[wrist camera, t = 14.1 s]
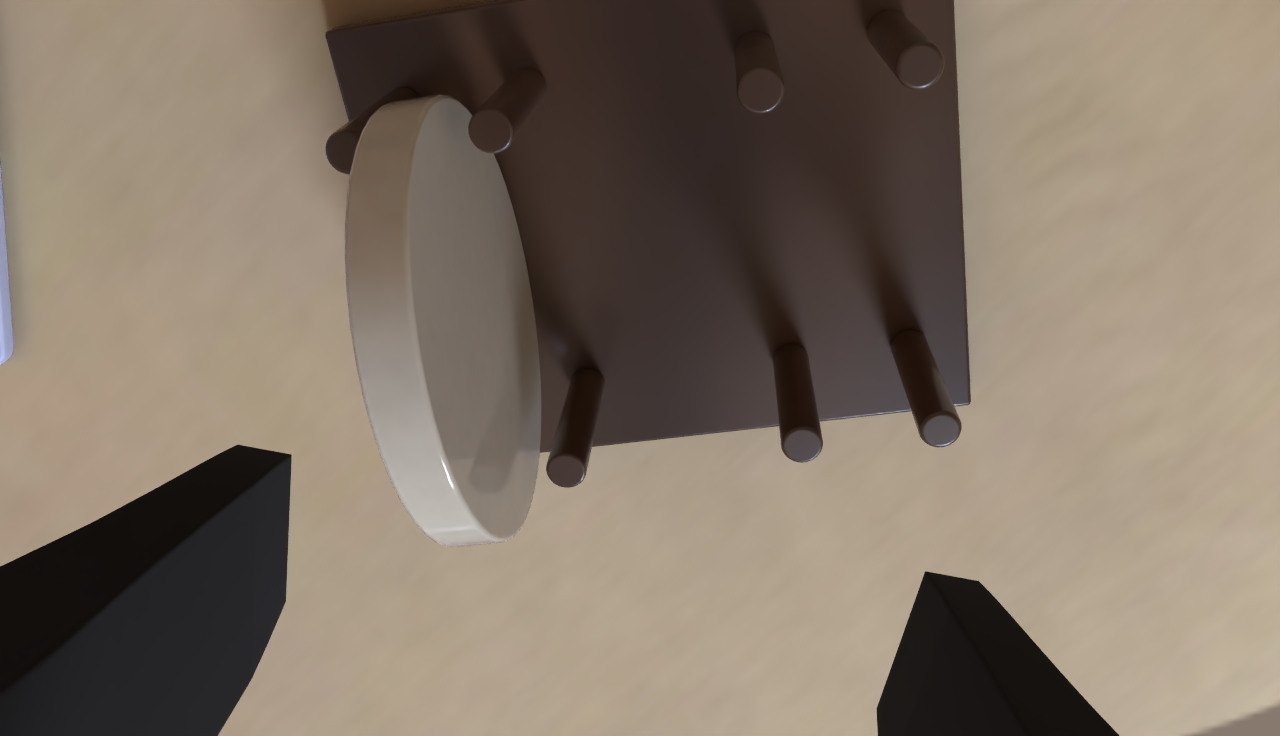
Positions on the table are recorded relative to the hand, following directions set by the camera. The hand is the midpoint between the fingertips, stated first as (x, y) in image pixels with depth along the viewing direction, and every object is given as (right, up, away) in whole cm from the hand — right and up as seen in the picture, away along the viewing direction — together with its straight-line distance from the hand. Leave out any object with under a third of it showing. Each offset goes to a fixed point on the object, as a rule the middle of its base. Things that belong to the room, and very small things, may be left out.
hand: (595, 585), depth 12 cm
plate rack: (+1, +5, +9) cm, 10 cm away
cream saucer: (-2, +3, +5) cm, 7 cm away
